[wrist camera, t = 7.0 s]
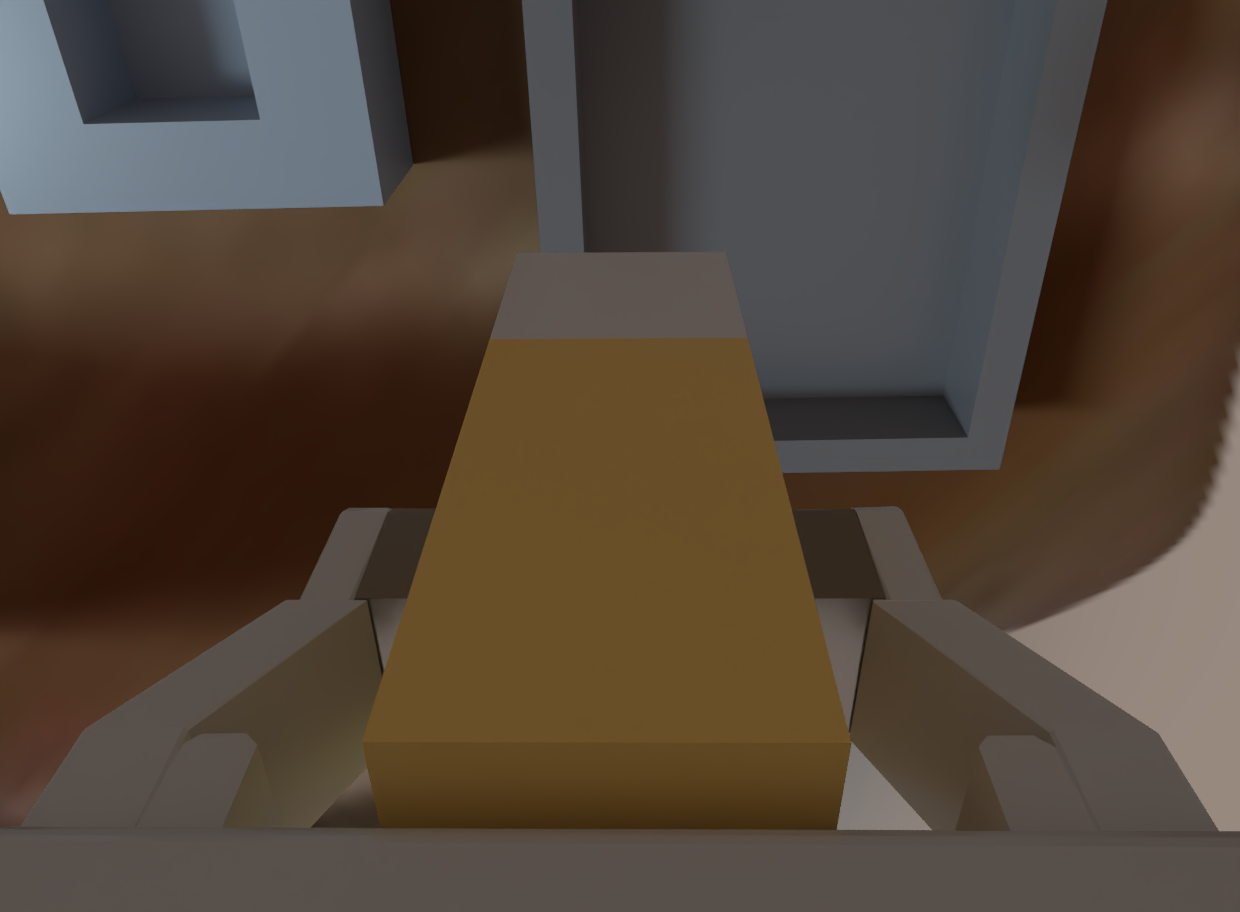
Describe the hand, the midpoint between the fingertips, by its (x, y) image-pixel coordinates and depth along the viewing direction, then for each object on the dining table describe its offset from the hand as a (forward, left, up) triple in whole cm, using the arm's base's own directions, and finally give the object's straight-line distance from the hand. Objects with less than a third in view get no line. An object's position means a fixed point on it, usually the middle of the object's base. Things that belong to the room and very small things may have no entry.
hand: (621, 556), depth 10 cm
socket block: (-4, -11, -20) cm, 23 cm away
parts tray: (+1, +5, -20) cm, 21 cm away
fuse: (0, 0, -5) cm, 5 cm away
